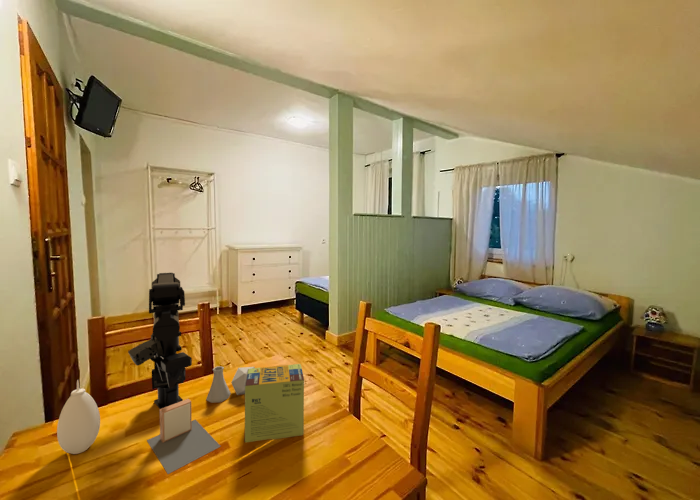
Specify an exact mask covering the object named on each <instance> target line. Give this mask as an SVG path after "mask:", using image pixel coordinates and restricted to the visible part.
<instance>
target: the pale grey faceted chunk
mask: <svg viewBox="0 0 700 500" xmlns="http://www.w3.org/2000/svg"><path fill="white" fill-rule="evenodd" d="M255 367H256V366H245V367H238V368H237V369H236V372H235V374H234V376H233V378H232V381H231V386H232V387H233V389H234V392H235V393H236V396H241V395H245V383H246V379H247V373H248V369H252V368H255Z"/></svg>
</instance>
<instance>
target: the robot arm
mask: <svg viewBox="0 0 700 500" xmlns="http://www.w3.org/2000/svg"><path fill="white" fill-rule="evenodd" d="M175 273H176V272H175ZM175 273H173V272H159V273H157V274H156V278H155V279H154V280H153V281H152V282H151V288H149V290H148V314H153V325H152V333H151V335H150V339H148V340H147V341H144V342H142V343H141V344H138V345H136V346H134V347H132V348H131V349H129V350H128V352H127V353H128V355H129V357H130V359H131V360H132V362H133V363H134V364H135V365H136V366H141V365H143V364H144V363H146V362H148V361H149V360H150V361H152V362H154V363H153V365H154V366H153V369H151V389H152V390H155V389H157V399H154V400H153V403H154V404H155V405H156V406H157V407H158V409H159V410H160V409H162V408H165V407H167V406H170V405H173V404H175V403H178V402H181V401H183V400H184V399H183V398H182V397H181V396H180V395H179V392H180V390H179V388H180V387H179V384H184V382H185V381H186V368H188V367H191V366H192V364H193V363H192V361H193V360H192V359H193V358H192V357H191V356H190V355H188V354H186V353H185V352H184V351H183V350H182V348H183V347H182V346H181V345H180V337H181V336H182V331H180V328H181V327H180V320H179V311H183V309H184V308H183V307H185V306H186V300H185V299H186V297H185V290H184V289H183V286H181V281H180V279H178V278H177V277H176V274H175ZM177 352H179V353H177Z"/></svg>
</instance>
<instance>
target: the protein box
mask: <svg viewBox="0 0 700 500" xmlns="http://www.w3.org/2000/svg"><path fill="white" fill-rule="evenodd" d="M304 406H305V378H304V373H303V368H302V364H301V363H295V364H285V365H275V366H274V365H273V366H272V365H271V366H263V367H256V368H252V369H248V373H247V379H246V383H245V394H244V443H252V442H257V441H258V442H259V441H264V440H265V441H266V440H270V441H272V440H279V439H286V438H293V437H298V436H304V432H305V429H304V428H305V426H304V421H305V419H304V418H305V417H304V416H305V415H304V413H305V407H304Z"/></svg>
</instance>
